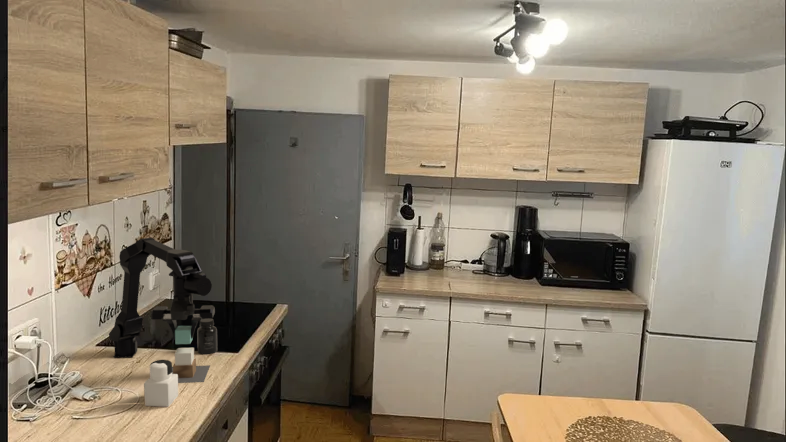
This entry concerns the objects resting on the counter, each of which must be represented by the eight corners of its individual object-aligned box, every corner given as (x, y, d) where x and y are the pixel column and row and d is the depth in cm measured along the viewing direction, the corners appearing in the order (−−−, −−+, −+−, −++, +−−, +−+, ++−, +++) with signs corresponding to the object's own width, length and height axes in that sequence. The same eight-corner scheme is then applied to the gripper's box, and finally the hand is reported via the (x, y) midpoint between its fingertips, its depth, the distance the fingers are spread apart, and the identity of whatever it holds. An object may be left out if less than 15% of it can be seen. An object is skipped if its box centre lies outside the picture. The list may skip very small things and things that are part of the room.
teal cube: (175, 344, 185) (175, 330, 184) (178, 339, 189) (177, 326, 188) (190, 343, 185) (189, 330, 185) (192, 339, 190) (192, 325, 189)
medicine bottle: (155, 395, 173) (154, 357, 172) (178, 396, 173) (177, 357, 171) (144, 406, 166) (142, 366, 164) (168, 407, 166) (167, 367, 164)
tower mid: (174, 365, 185) (174, 353, 185) (178, 359, 190) (177, 348, 189) (191, 364, 186) (191, 353, 185) (194, 359, 191) (193, 347, 190)
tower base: (173, 378, 185) (173, 366, 185) (177, 370, 191) (176, 359, 190) (192, 377, 186) (192, 365, 186) (196, 370, 192) (195, 358, 191)
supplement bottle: (220, 349, 213) (220, 317, 211) (212, 356, 206) (212, 323, 204) (202, 348, 213) (201, 316, 212) (194, 355, 207) (193, 322, 205)
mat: (157, 385, 181) (157, 383, 180) (167, 367, 194) (167, 366, 194) (203, 383, 183) (203, 381, 183) (210, 366, 197) (210, 365, 196)
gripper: (145, 298, 176) (147, 347, 178) (209, 297, 179) (210, 345, 181) (154, 289, 186) (155, 335, 188) (214, 288, 189) (215, 334, 191)
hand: (184, 338), depth 187 cm, fingers closed on teal cube, 4 cm apart
